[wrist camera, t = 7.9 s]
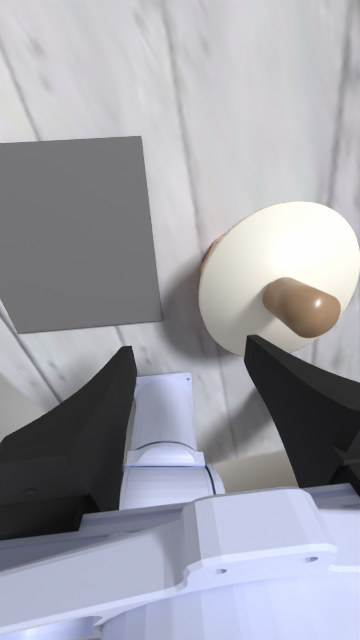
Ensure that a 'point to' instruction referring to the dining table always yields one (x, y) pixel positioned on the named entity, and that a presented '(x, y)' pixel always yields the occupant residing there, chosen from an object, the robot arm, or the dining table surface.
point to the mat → (76, 234)
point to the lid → (279, 277)
